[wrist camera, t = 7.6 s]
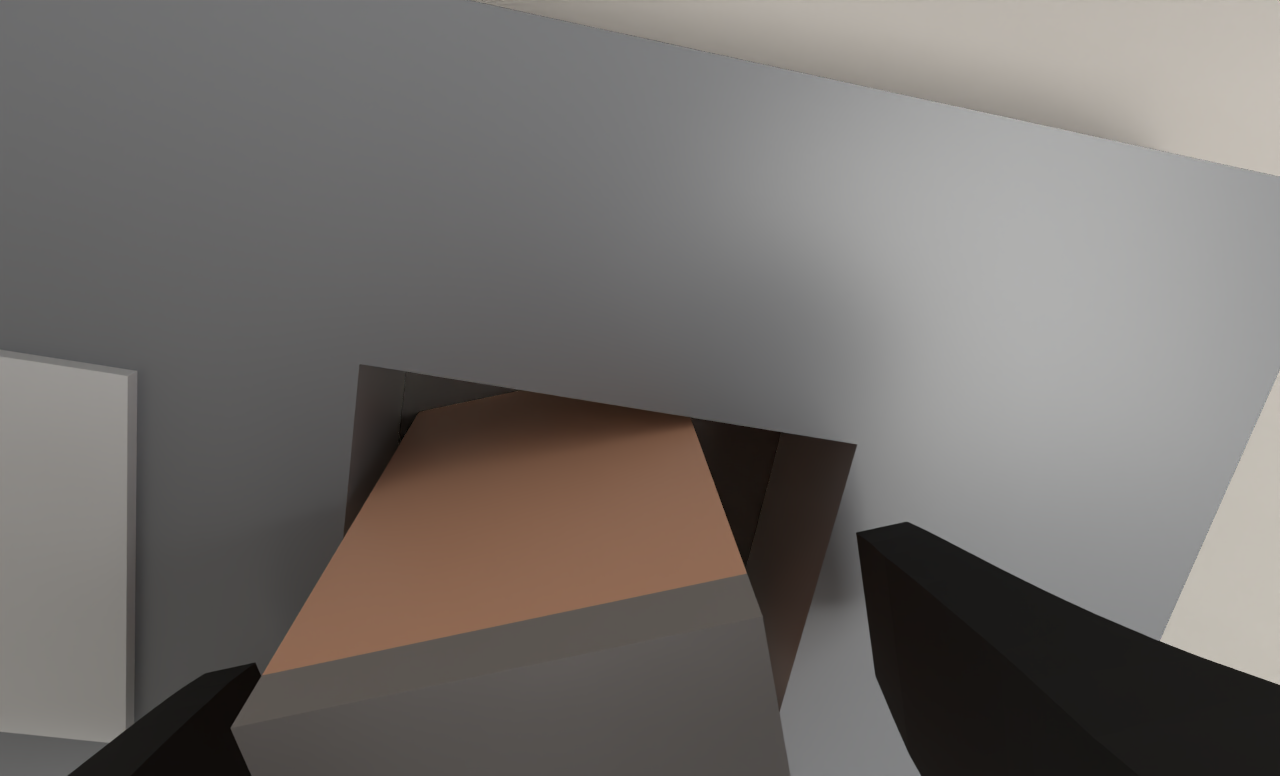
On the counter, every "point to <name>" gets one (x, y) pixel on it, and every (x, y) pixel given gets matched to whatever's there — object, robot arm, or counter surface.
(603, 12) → the counter surface
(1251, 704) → the robot arm
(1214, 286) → the outlet box
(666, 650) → the tan rectangular block
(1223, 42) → the counter surface
